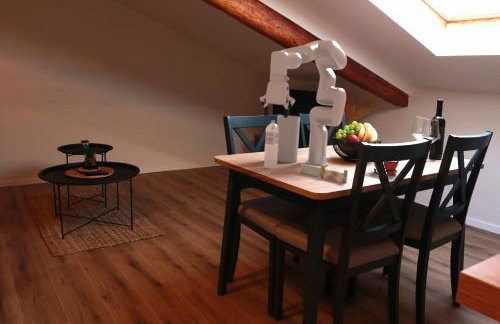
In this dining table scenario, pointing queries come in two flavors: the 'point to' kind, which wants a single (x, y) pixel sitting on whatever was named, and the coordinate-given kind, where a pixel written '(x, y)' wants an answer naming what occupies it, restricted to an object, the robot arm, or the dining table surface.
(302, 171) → the bar
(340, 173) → the fence fixed
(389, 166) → the plant pot
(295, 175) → the dining table surface
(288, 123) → the cylinder vase
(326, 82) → the robot arm
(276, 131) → the water bottle
